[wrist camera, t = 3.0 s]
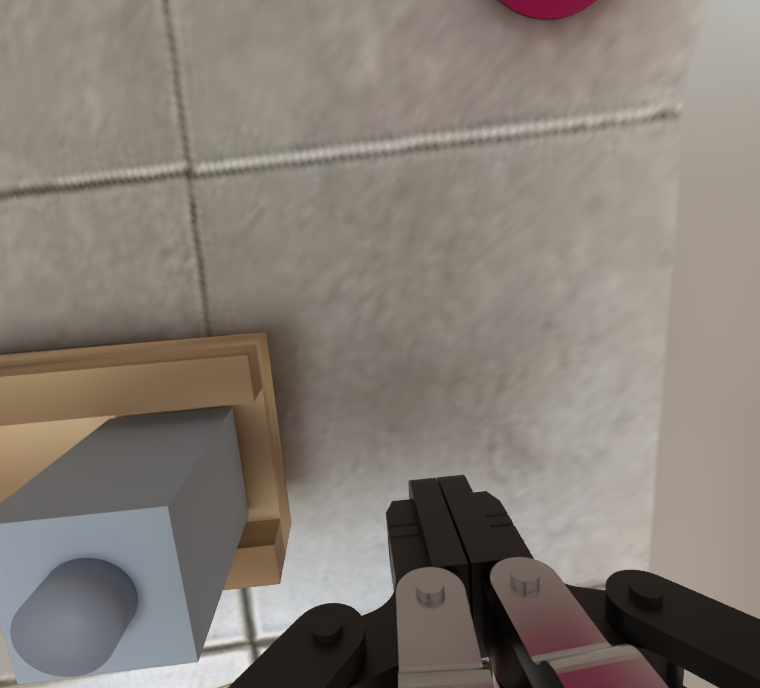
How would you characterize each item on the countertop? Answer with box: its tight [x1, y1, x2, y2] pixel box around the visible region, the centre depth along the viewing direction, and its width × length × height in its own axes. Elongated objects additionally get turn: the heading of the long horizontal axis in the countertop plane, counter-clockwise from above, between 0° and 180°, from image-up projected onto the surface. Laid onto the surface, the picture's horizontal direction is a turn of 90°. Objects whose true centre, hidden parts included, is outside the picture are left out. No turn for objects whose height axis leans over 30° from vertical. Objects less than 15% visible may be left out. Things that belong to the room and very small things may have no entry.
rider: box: [0, 407, 249, 684], centre depth 13 cm, size 4×4×7 cm
